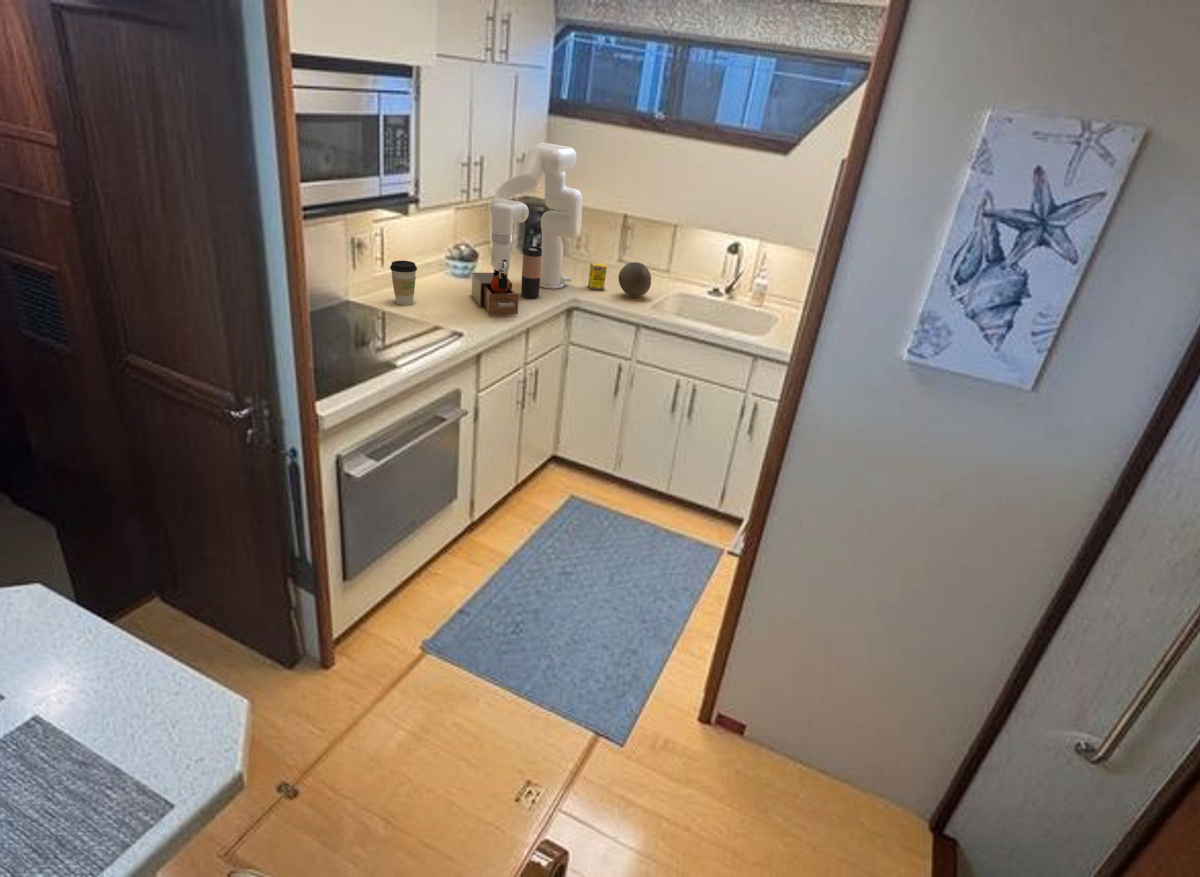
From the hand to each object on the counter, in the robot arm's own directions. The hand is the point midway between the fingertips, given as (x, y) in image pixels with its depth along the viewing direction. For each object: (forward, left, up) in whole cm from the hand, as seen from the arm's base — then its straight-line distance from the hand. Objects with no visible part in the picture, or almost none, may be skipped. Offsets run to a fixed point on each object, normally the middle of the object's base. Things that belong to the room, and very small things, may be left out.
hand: (500, 285), depth 263 cm
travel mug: (-18, -18, -10) cm, 27 cm away
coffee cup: (+34, -12, -10) cm, 38 cm away
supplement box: (-52, -28, -10) cm, 60 cm away
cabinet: (0, -12, -10) cm, 16 cm away
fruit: (0, 0, -3) cm, 3 cm away
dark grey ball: (-65, -15, -10) cm, 67 cm away
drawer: (0, +2, -9) cm, 10 cm away
